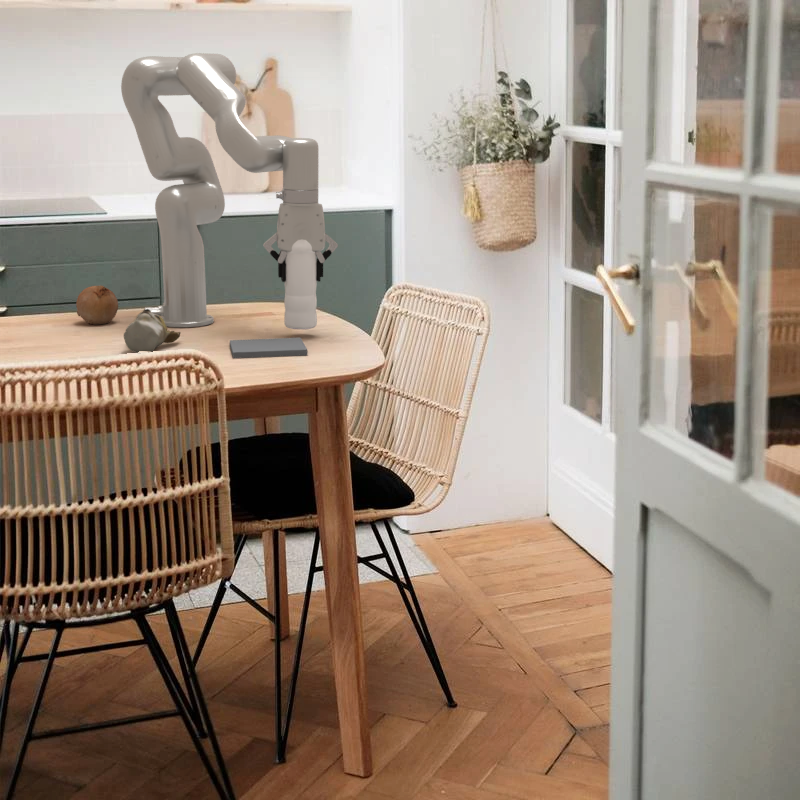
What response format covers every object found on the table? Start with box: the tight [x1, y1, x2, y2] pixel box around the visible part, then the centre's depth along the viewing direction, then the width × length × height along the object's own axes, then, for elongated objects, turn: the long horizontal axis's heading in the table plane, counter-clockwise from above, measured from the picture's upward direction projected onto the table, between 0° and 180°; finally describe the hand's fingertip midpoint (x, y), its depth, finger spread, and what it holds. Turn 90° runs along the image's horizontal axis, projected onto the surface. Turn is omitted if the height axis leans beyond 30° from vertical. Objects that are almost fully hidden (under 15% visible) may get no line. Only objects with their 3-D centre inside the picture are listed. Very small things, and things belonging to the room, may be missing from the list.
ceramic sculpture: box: [123, 308, 181, 353], centre depth 268 cm, size 11×9×15 cm
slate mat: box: [229, 337, 308, 359], centre depth 266 cm, size 15×13×1 cm
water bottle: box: [283, 239, 318, 330], centre depth 277 cm, size 7×7×25 cm
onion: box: [75, 284, 119, 325], centre depth 296 cm, size 10×9×10 cm
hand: (300, 280), depth 277 cm, fingers closed on water bottle, 6 cm apart
